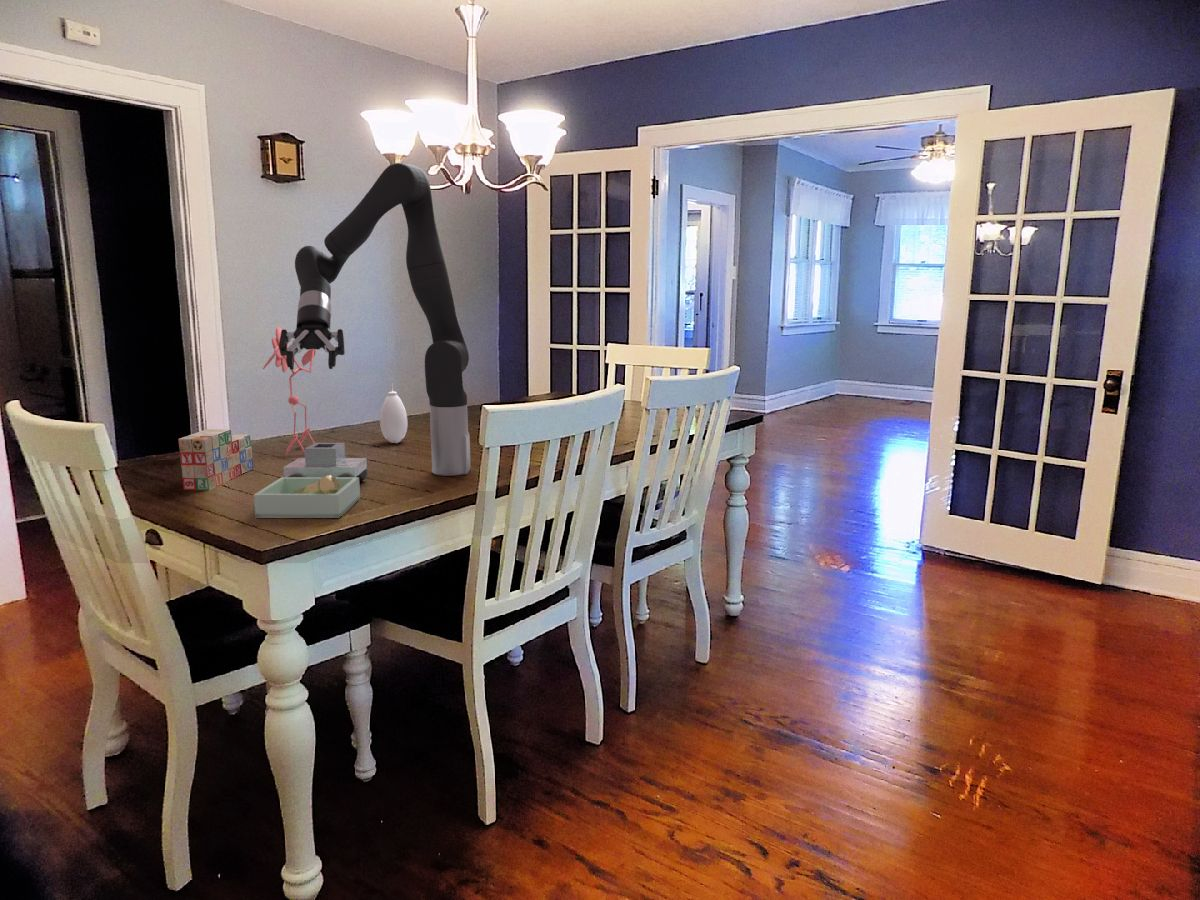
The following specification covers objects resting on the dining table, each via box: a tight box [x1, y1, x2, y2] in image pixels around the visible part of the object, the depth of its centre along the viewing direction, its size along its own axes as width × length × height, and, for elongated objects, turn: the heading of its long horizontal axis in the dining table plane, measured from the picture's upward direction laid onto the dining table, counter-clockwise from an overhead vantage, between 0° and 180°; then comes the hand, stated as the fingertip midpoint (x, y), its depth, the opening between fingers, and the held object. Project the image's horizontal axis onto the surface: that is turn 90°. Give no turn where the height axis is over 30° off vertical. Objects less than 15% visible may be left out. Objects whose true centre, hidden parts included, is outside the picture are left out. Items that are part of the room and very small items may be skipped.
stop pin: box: [293, 475, 339, 494], centre depth 169 cm, size 4×4×12 cm
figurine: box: [262, 326, 316, 457], centre depth 226 cm, size 15×26×35 cm, turn 0°
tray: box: [253, 476, 361, 519], centre depth 171 cm, size 17×15×5 cm
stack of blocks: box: [178, 428, 254, 491], centre depth 196 cm, size 21×6×12 cm, turn 176°
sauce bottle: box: [379, 383, 408, 444], centre depth 240 cm, size 8×8×18 cm
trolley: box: [282, 442, 369, 483], centre depth 188 cm, size 16×13×10 cm
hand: (310, 367), depth 185 cm, fingers open, 8 cm apart
